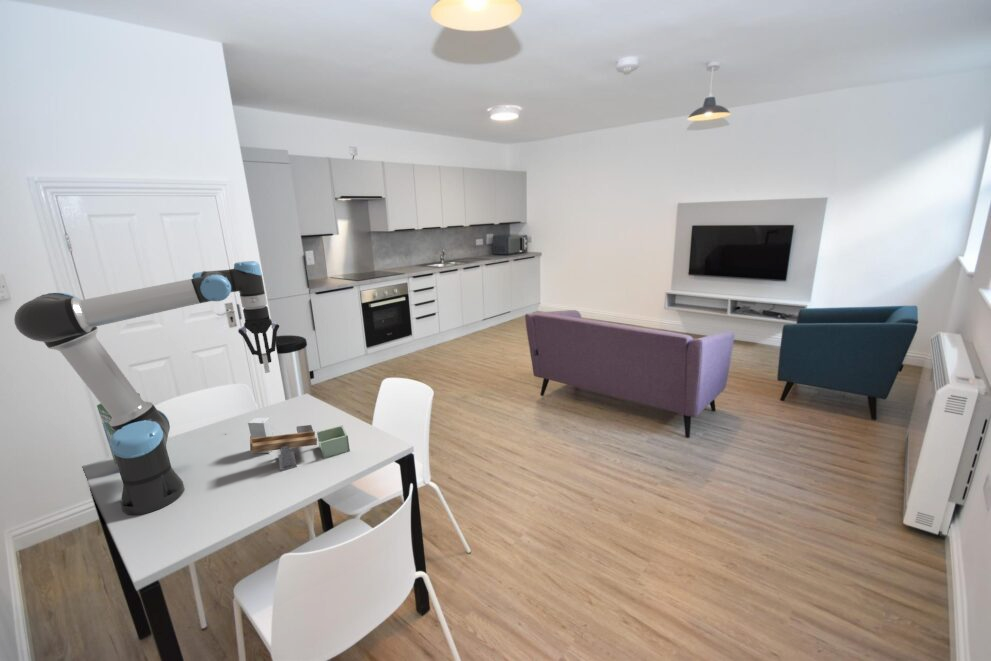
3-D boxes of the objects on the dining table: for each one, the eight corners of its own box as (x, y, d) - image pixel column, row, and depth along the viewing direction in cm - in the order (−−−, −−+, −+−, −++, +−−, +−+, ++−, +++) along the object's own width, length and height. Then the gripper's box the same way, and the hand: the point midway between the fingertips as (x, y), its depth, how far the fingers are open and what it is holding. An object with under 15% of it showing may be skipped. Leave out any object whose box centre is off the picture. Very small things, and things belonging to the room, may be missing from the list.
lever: (250, 453, 140) (250, 443, 139) (249, 434, 152) (249, 425, 152) (316, 444, 150) (316, 435, 149) (311, 427, 162) (311, 418, 162)
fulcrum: (280, 471, 143) (276, 449, 141) (278, 457, 152) (274, 436, 150) (296, 466, 146) (292, 445, 144) (293, 452, 155) (290, 432, 152)
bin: (323, 458, 150) (320, 443, 148) (319, 446, 158) (316, 431, 156) (349, 450, 154) (347, 435, 153) (344, 439, 162) (342, 425, 161)
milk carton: (114, 464, 152) (94, 398, 145) (144, 451, 160) (126, 389, 153) (127, 470, 148) (107, 403, 141) (157, 457, 155) (139, 393, 149)
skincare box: (276, 447, 159) (270, 417, 156) (269, 453, 155) (263, 423, 152) (261, 446, 160) (254, 417, 156) (253, 453, 155) (247, 422, 152)
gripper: (232, 311, 142) (246, 378, 148) (276, 306, 148) (288, 370, 154) (233, 307, 148) (246, 372, 155) (275, 302, 154) (286, 364, 161)
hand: (267, 371), depth 155 cm, fingers closed
